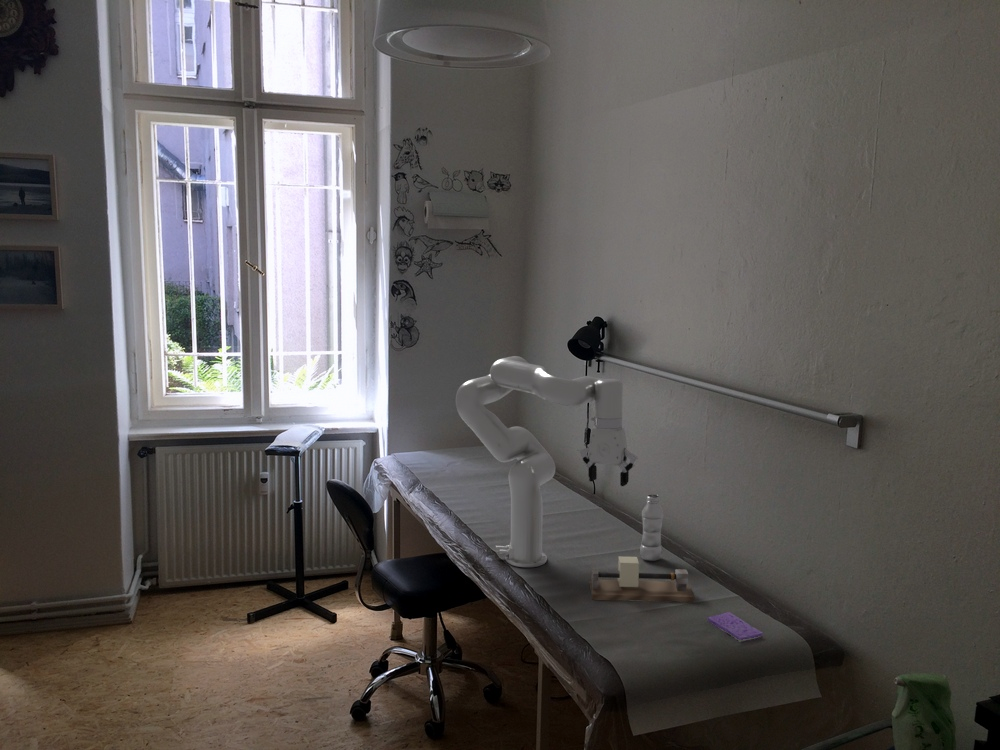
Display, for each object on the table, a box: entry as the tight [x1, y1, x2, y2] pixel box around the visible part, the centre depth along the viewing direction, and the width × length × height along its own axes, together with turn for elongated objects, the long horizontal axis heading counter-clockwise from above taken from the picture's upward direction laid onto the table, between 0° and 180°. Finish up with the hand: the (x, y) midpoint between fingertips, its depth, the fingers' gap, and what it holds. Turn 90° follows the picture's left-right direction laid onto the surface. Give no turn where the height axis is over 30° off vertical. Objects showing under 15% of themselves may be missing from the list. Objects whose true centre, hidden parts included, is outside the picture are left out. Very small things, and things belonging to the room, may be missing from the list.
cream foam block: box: [617, 556, 640, 587], centre depth 217 cm, size 5×5×7 cm
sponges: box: [707, 611, 763, 640], centre depth 197 cm, size 7×13×2 cm, turn 24°
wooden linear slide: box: [589, 568, 695, 603], centre depth 217 cm, size 27×10×6 cm, turn 88°
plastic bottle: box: [639, 494, 664, 562], centre depth 241 cm, size 6×7×20 cm
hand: (608, 482), depth 224 cm, fingers open, 9 cm apart
